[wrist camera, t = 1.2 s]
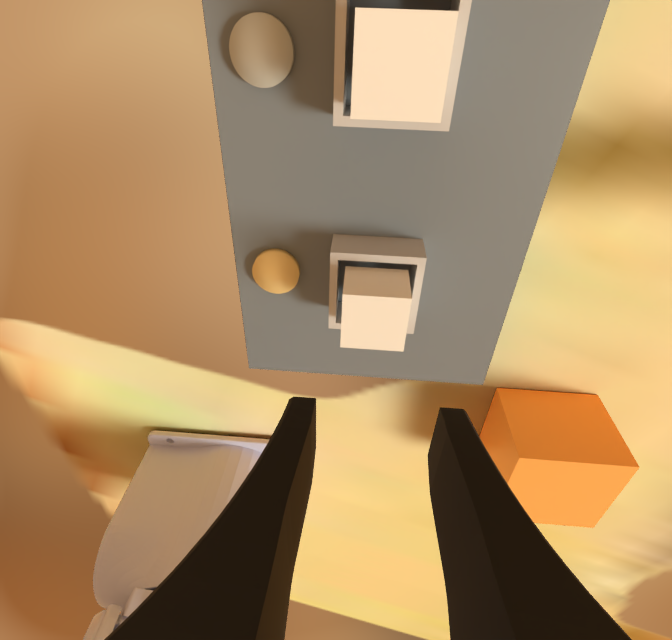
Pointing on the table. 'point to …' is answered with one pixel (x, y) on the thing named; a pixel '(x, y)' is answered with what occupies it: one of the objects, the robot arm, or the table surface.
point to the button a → (375, 308)
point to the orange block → (557, 454)
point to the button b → (401, 63)
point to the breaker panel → (388, 175)
